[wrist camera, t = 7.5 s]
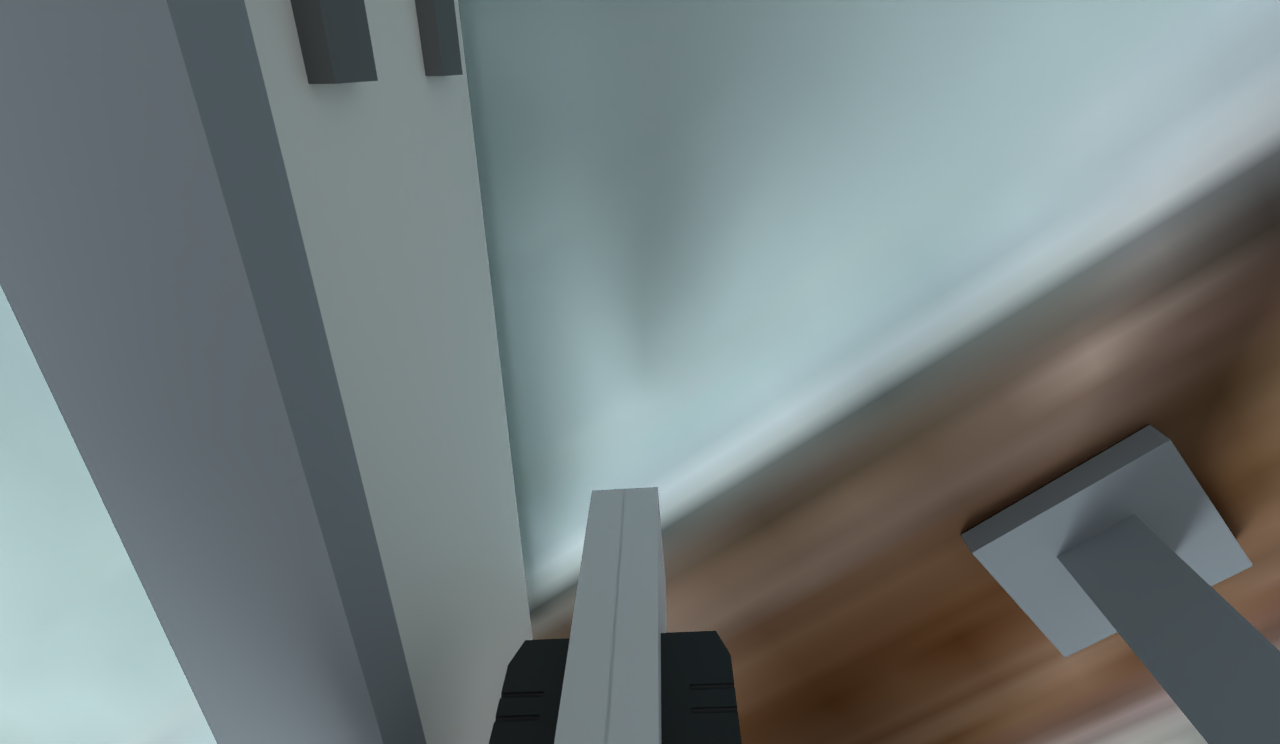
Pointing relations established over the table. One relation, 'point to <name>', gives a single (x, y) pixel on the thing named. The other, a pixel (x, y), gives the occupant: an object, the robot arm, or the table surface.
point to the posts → (1141, 581)
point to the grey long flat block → (276, 346)
